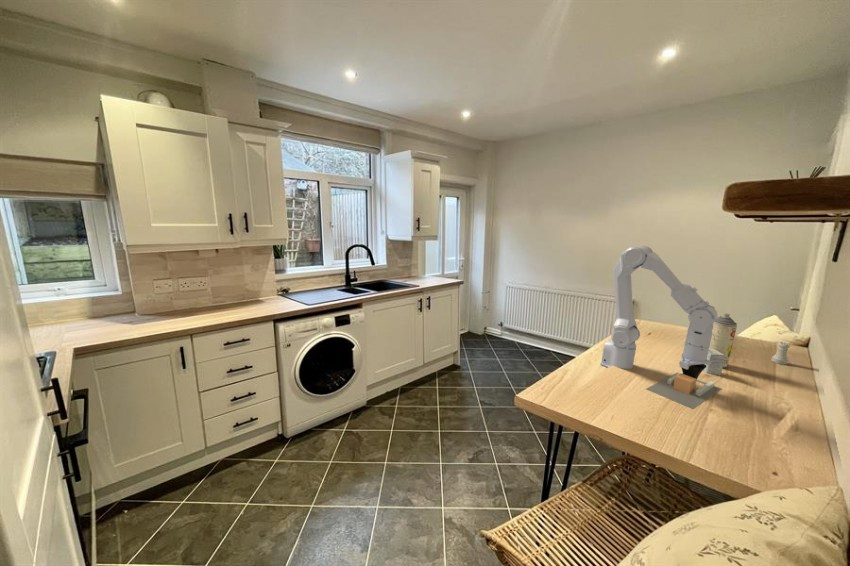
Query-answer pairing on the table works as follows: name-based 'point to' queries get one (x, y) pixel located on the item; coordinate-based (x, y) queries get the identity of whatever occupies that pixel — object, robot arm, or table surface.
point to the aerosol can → (723, 336)
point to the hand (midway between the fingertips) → (688, 384)
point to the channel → (680, 397)
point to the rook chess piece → (781, 354)
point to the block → (684, 383)
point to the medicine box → (714, 362)
